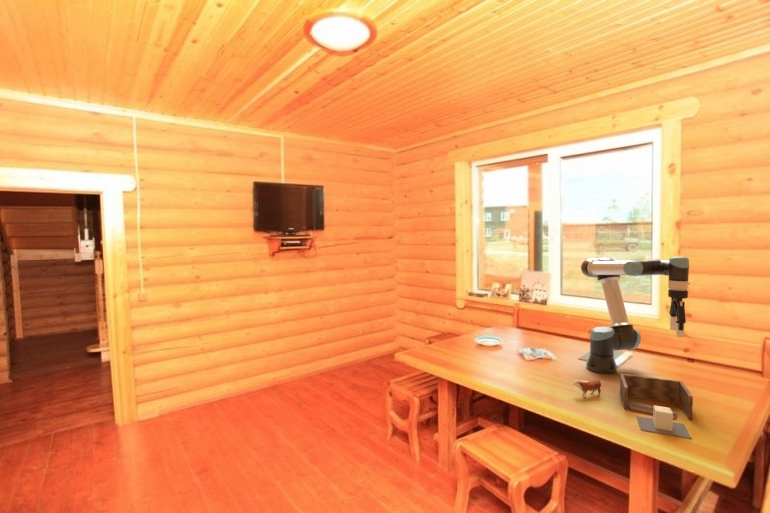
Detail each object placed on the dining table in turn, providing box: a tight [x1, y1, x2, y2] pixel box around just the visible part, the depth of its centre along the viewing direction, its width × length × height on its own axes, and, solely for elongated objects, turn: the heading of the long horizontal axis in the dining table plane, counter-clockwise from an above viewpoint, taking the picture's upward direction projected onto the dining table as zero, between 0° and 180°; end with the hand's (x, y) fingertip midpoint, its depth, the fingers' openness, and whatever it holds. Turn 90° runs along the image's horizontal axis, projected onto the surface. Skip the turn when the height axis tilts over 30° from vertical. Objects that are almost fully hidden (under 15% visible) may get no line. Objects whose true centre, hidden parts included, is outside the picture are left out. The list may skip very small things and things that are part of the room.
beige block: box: [652, 404, 674, 431], centre depth 155 cm, size 6×6×7 cm
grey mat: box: [636, 415, 692, 440], centre depth 155 cm, size 16×12×1 cm
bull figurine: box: [572, 379, 602, 399], centre depth 185 cm, size 4×13×8 cm, turn 95°
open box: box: [619, 373, 694, 421], centre depth 173 cm, size 24×18×10 cm
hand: (676, 333), depth 186 cm, fingers open, 13 cm apart
